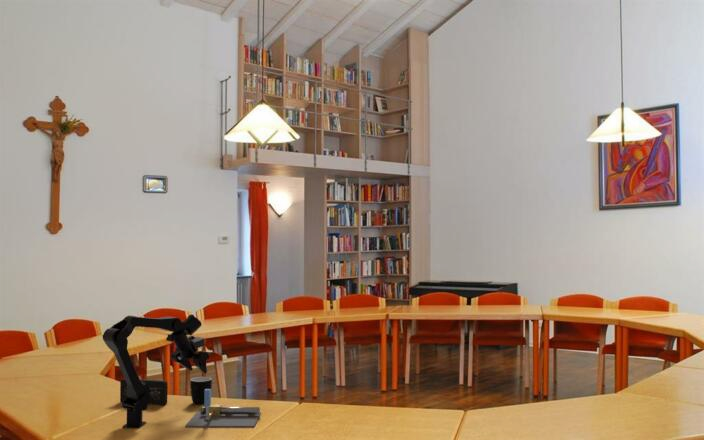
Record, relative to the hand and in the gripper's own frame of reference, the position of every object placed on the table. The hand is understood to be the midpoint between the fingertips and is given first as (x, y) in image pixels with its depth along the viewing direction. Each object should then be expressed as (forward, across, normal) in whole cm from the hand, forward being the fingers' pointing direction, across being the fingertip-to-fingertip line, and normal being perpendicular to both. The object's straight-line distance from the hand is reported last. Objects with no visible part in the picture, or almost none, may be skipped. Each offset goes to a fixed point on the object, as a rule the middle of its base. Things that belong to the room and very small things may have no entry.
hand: (198, 371), depth 259 cm
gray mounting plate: (+10, -22, +12) cm, 27 cm away
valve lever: (+3, -22, +18) cm, 29 cm away
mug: (+15, +5, +5) cm, 17 cm away
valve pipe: (+10, -23, +11) cm, 28 cm away
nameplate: (+8, +24, +17) cm, 30 cm away
